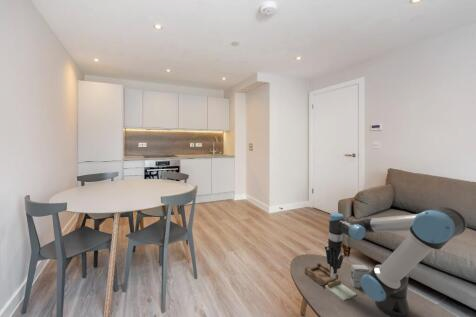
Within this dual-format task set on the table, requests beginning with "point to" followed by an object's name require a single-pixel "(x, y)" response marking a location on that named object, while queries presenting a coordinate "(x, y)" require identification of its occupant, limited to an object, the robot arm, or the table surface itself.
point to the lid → (340, 290)
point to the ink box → (358, 274)
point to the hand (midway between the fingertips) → (332, 277)
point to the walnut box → (320, 274)
